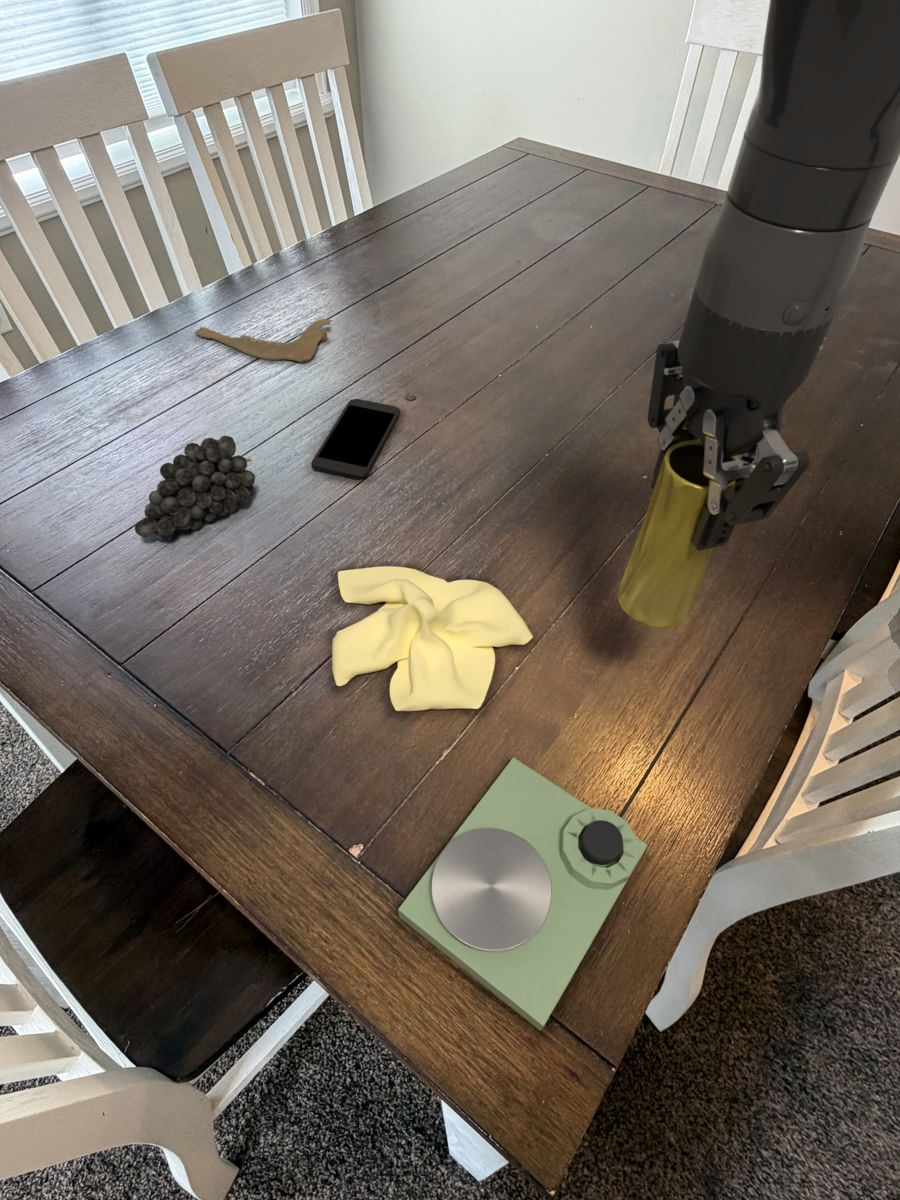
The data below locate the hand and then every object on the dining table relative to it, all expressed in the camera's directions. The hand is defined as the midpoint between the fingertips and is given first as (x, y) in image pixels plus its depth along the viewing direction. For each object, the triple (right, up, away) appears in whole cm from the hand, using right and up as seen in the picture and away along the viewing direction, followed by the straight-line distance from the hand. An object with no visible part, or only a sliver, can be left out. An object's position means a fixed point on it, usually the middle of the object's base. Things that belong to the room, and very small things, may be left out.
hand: (685, 515), depth 53 cm
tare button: (-5, -26, +5) cm, 26 cm away
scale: (-11, -29, +6) cm, 31 cm away
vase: (0, -6, +7) cm, 10 cm away
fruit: (-46, +4, +32) cm, 57 cm away
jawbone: (-44, +33, +57) cm, 80 cm away
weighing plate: (-14, -28, +2) cm, 31 cm away
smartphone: (-29, +15, +42) cm, 53 cm away
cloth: (-21, -9, +22) cm, 32 cm away
